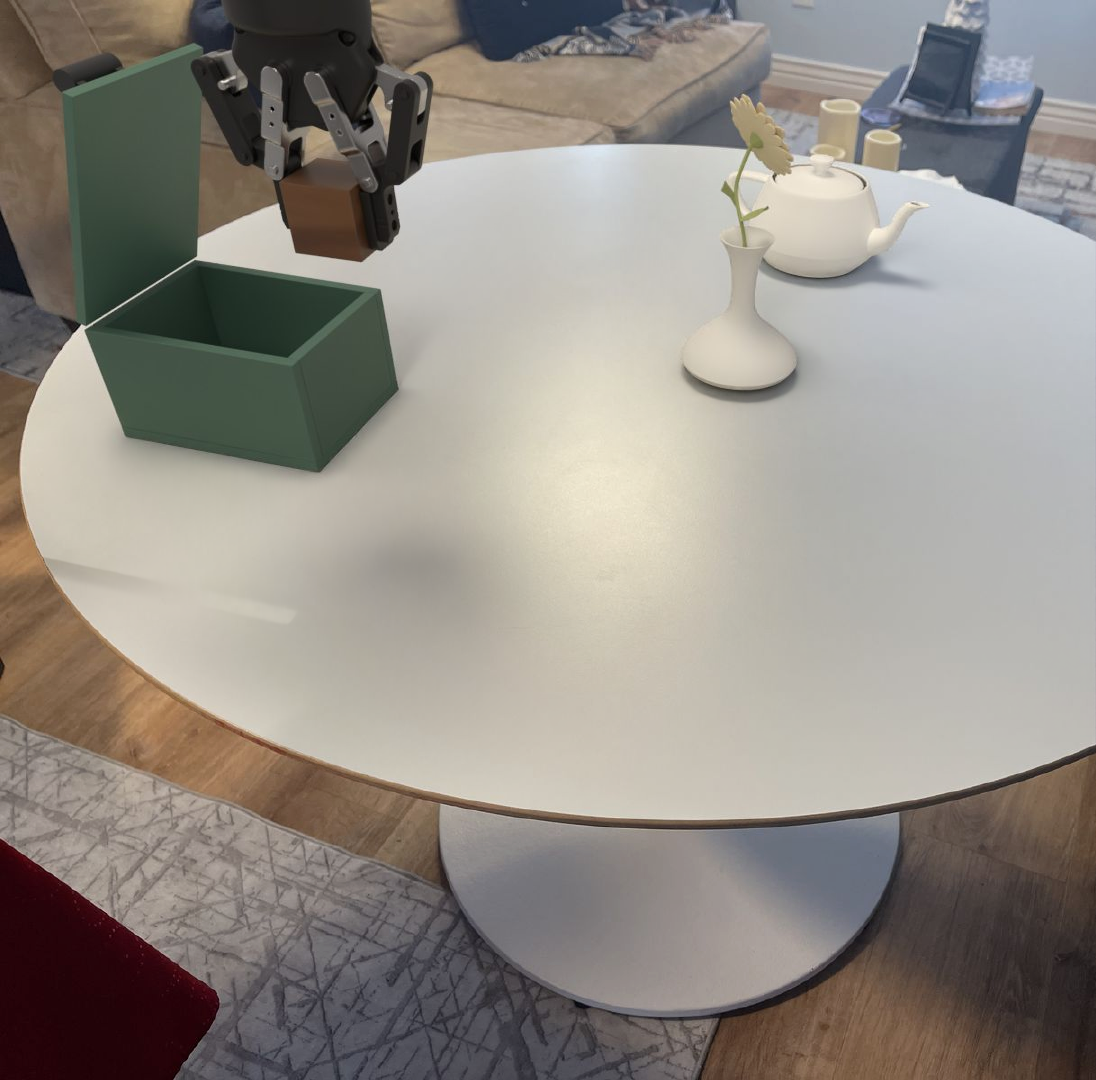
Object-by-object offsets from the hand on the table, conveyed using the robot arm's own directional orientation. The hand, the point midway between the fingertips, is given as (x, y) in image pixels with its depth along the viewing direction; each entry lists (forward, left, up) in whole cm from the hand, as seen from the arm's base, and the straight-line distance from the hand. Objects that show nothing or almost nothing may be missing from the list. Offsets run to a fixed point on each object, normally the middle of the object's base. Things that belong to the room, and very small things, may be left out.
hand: (344, 239), depth 62 cm
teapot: (+63, -12, -24) cm, 69 cm away
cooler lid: (+8, +26, -4) cm, 28 cm away
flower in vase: (+35, -13, -24) cm, 45 cm away
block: (0, 0, 0) cm, 0 cm away
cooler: (+8, +21, -23) cm, 32 cm away
